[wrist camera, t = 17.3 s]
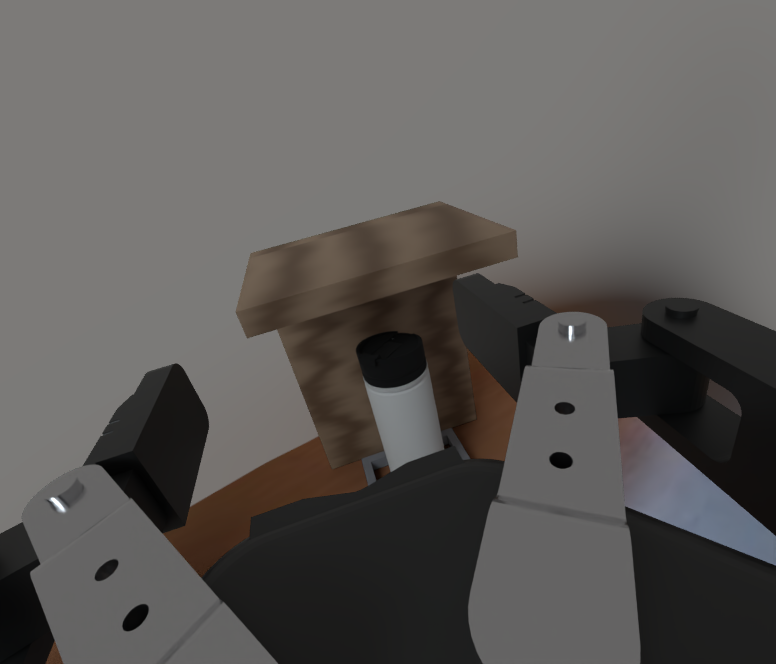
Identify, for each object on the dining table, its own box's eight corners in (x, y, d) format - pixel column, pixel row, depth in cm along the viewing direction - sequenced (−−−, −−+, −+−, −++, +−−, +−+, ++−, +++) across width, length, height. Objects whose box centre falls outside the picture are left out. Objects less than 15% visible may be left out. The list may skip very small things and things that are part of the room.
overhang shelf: (347, 568, 39) (235, 311, 26) (330, 458, 53) (250, 253, 40) (532, 498, 42) (515, 230, 28) (470, 410, 55) (439, 201, 42)
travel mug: (385, 501, 45) (337, 354, 36) (414, 460, 50) (379, 318, 40) (433, 523, 42) (395, 365, 32) (460, 476, 46) (433, 325, 37)
